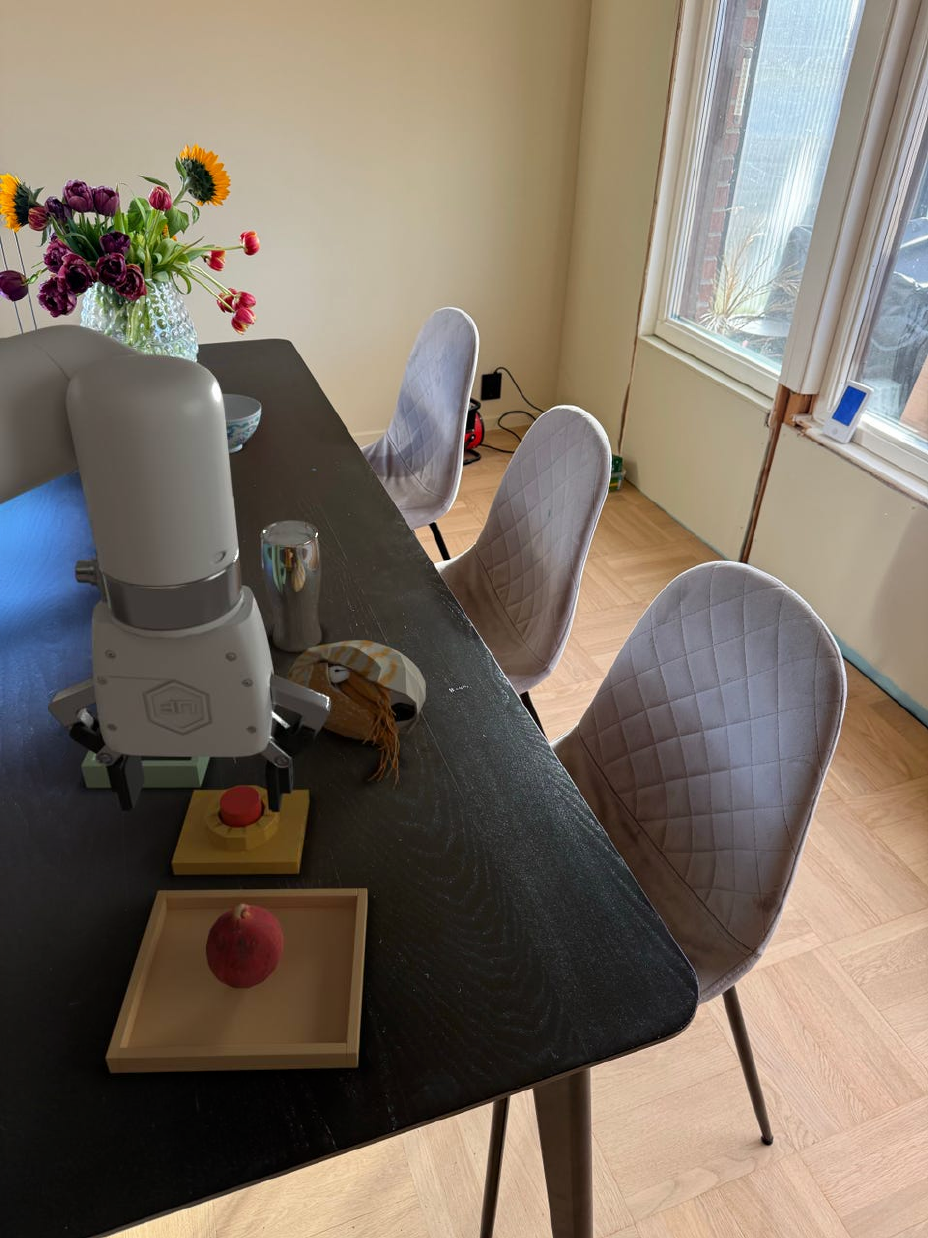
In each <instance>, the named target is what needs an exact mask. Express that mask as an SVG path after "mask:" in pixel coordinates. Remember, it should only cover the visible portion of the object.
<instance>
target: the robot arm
mask: <svg viewBox="0 0 928 1238" xmlns="http://www.w3.org/2000/svg"><path fill="white" fill-rule="evenodd" d="M222 394H223V393H222V390H221V387H220V383H219V382H218V380H217V378H216V377H215V376H214V375H213V374H212V372H211V371H210V370H209V369H208V368H206V367H205V366H203V365H202V364H200V363H199V362H196V361H194V360H191V359H188V358H184V357H180V356H175V355H169V354H157V353H144V352H141V351H140V350H137V349H135V348H133V347H131V346H129V345H127V344H125V343H123V342H121V341H119V340H117V339H115V338H114V337H112V336H109V335H107V334H105V333H103V332H101V331H99V330H96V329H93V328H91V327H88V326H83V325H80V324H79V325H78V324H57V325H56V324H55V325H49V326H45V327H40V328H37V329H33V330H30V331H26V332H21V333H18V334H15V335H10V336H8V337H0V505H3V504H5V503H7V502H9V501H12V500H13V499H15V498H17V497H20V496H22V495H24V494H26V493H28V492H30V491H32V490H34V489H35V490H36V489H37V488H39V487H41V486H44V485H45V484H48V483H50V482H52V481H54V480H56V479H59V478H61V477H63V476H66V475H70V474H74V473H77V472H79V476H80V477H79V478H80V481H81V482H80V483H81V486H82V491H83V496H84V500H85V505H86V510H87V515H88V519H89V526H90V530H91V531H90V532H91V536H92V541H93V545H94V550H95V556H96V557H91V558H90V559H78V560H77V561H76V563H75V568H74V575H75V580H76V582H77V583H78V584H90V586H92V587H97V589H98V591H99V593H100V599H99V600H98V602H97V603H96V604H95V605H94V607H93V609H92V617H91V659H92V660H91V661H92V662H91V663H92V676H91V677H89V678H86V679H84V680H82V681H79V682H77V683H74V684H72V685H70V686H67V687H65V688H63V689H60V690H58V691H56V692H55V693H54V695H53V696H52V698H51V700H50V702H49V703H48V706H47V710H48V712H49V713H50V714H51V715H52V716H53V717H54V718H55V719H56V720H57V722H59V724H61V725H62V727H63V728H66V729H67V730H69V737H70V738H71V739H72V740H73V741H74V742H76V743H77V744H79V745H81V746H82V747H84V748H86V749H87V750H88V751H89V750H90V751H92V752H94V753H95V754H96V757H95V759H96V761H97V762H98V763H99V764H101V765H103V766H106V768H107V772H108V776H109V781H110V785H111V788H110V789H111V792H112V793H117V797H118V801H119V805H120V810H121V811H122V812H131V811H132V810H135V809H136V808H135V807H136V804H137V802H138V800H139V797H140V794H141V791H142V789H143V787H142V786H143V784H144V781H145V776H144V771H143V766H142V761H143V760H142V757H174V758H175V757H177V758H178V757H179V758H180V757H181V758H192V757H210V758H242V757H250V756H254V755H258V754H259V755H260V756H262V757H264V758H265V759H266V764H265V771H264V774H265V785H266V790H267V797H268V807H269V810H271V811H272V812H280V809H281V803H282V798H283V794H291V793H292V790H293V787H294V766H293V759H294V758H296V756H298V755H299V754H300V753H301V752H303V751H305V750H306V749H307V748H308V747H309V746H311V745H312V744H313V743H314V742H315V740H316V736H317V735H318V733H320V731H321V730H322V728H323V727H322V726H323V725H324V723H325V722H326V720H327V719H328V717H329V715H330V709H331V699H330V698H329V697H327V696H325V695H323V694H320V693H318V692H316V691H313V690H311V689H308V688H306V687H303V686H301V685H299V684H296V683H294V682H291V681H289V680H287V678H284V677H282V676H280V675H277V674H275V673H274V666H273V660H272V655H271V650H270V644H269V642H268V641H269V640H268V637H267V632H266V629H265V625H264V622H263V617H262V615H261V612H260V611H261V610H260V609H259V606H258V603H257V600H256V598H255V595H254V593H253V590H252V589H251V588H250V587H249V586H247V585H243V580H242V571H241V561H240V551H239V541H238V532H237V531H238V530H237V522H236V521H237V519H236V511H235V499H234V490H233V482H232V471H231V463H230V462H231V460H230V453H229V450H228V439H227V429H226V419H225V409H224V403H223V396H222ZM94 705H96V713H97V715H96V714H95V713H94V712H91V711H88V709H87V708H89V707H91V706H94ZM276 705H277V706H279V707H282V708H284V709H286V710H289V711H291V712H294V713H296V714H299V715H301V716H300V717H299V718H298V719H296V720H295V721H294V722H293V723H291V724H290V725H289V724H288V723H287V722H286V721H285V720H284V719H283V718H282V717H281V716H279V715H278V714H277V713H276V712H275V711H274V710H275V709H276V707H277V706H276Z"/></svg>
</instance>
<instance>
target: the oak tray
mask: <svg viewBox="0 0 928 1238" xmlns="http://www.w3.org/2000/svg"><path fill="white" fill-rule="evenodd" d="M240 904H247V905H254V906H258V907H262V908H264V909H266V910H267V911H268V912H270V913H271V914H272V915H274V916H275V917H276V918H277V920H278V921H279V924H280V927H281V930H282V933H283V937H284V944H283V954H282V958H281V960H280V962H279V963H278V965H277V967H276V969H275V970H274V971H273V972H272V973H271V974H270V975H269V976H268V977H267V978H266V979H265V980H264V981H263V982H262V983H260V984H257V985H255V986H253V987H251V988H233V987H231V986H229V985H227V984H224V983H222V982H220V981H219V980H218V979H217V978H216V976H215V975H214V974H213V973H212V972H211V970H210V968H209V966H208V962H207V957H206V943H207V939H208V935H209V931H210V929H211V928H212V926H213V925H214V923H215V922H216V920H217V919H218V918H219V917H220V916H221V915H222V914H224V913H225V912H227V911H228V910H230V909H232V908H235V907H237V906H238V905H240ZM367 917H368V888H279V889H278V888H277V889H276V888H274V889H272V888H271V889H270V888H269V889H183V890H182V889H175V890H174V889H172V890H171V889H169V890H168V889H161V890H160V889H159V890H157V892H156V896H155V899H154V902H153V905H152V908H151V911H150V915H149V919H148V921H147V924H146V927H145V930H144V933H143V938H142V941H141V943H140V946H139V951H138V953H137V956H136V959H135V962H134V966H133V969H132V973H131V975H130V979H129V982H128V984H127V987H126V992H125V995H124V997H123V1001H122V1004H121V1007H120V1010H119V1013H118V1017H117V1020H116V1023H115V1027H114V1029H113V1033H112V1036H111V1039H110V1043H109V1045H108V1049H107V1052H106V1055H105V1061H106V1064H107V1067H108V1070H109V1073H110V1074H121V1073H122V1074H123V1073H125V1074H127V1073H128V1074H129V1073H168V1072H211V1071H214V1072H215V1071H219V1072H220V1071H256V1070H257V1071H260V1070H298V1069H299V1070H303V1069H307V1070H308V1069H309V1070H310V1069H346V1068H347V1069H348V1068H350V1069H351V1068H352V1069H353V1068H354V1069H355V1068H358V1067H359V1051H360V1037H361V1035H360V1034H361V1020H362V1019H361V1018H362V1016H361V1015H362V1004H363V1003H362V1002H363V986H364V971H365V969H364V968H365V954H366V953H365V951H366V950H365V949H366V935H367V934H366V933H367V920H368V919H367Z"/></svg>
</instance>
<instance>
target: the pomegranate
mask: <svg viewBox="0 0 928 1238" xmlns="http://www.w3.org/2000/svg"><path fill="white" fill-rule="evenodd" d="M283 944H284V937H283V933H282V930H281V927H280V924H279V921H278V920H277V918H276V917H275V916H274V915H272V914H271V913H270V912H268V911H267V910H266V909H264V908H262V907H258V906H254V905H247V904H240V905H238V906H237V907H235V908H232V909H230V910H228V911H227V912H225V913H224V914H222V915H221V916H220V917H219V918H218V919H217V920H216V922H215V923H214V925H213V926H212V928H211V929H210V931H209V935H208V939H207V943H206V957H207V962H208V966H209V968H210V970H211V972H212V973H213V974H214V975H215V976H216V978H217V979H218V980H219V981H220V982H222V983H224V984H227V985H229V986H231V987H233V988H251V987H253V986H255V985H257V984H260V983H262V982H263V981H264V980H265V979H266V978H267V977H268V976H269V975H270V974H271V973H272V972H273V971H274V970H275V969H276V967H277V965H278V963H279V962H280V960H281V958H282V954H283Z"/></svg>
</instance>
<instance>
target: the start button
mask: <svg viewBox="0 0 928 1238" xmlns="http://www.w3.org/2000/svg"><path fill="white" fill-rule="evenodd" d="M237 786H238V787H236V786H233V787H234V788H233V787H231V789H230V788H228V789H229V790H228V789H227V790H228V791H226V792H225V793H224V794H223V795H222V797H221V799H220V809H221V816H222V820H223V821H224V823H225V824H227V825H228V826H231V827H235V828H236V827H246V826H249V825H251V824H253V823H255V822H256V821H257V820H258V819H259V818H260V816H261V814H262V807H261V798H260V794H259V792H258V791H257V790H256V789H254V788H252V787H249V786H250V785H237Z"/></svg>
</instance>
